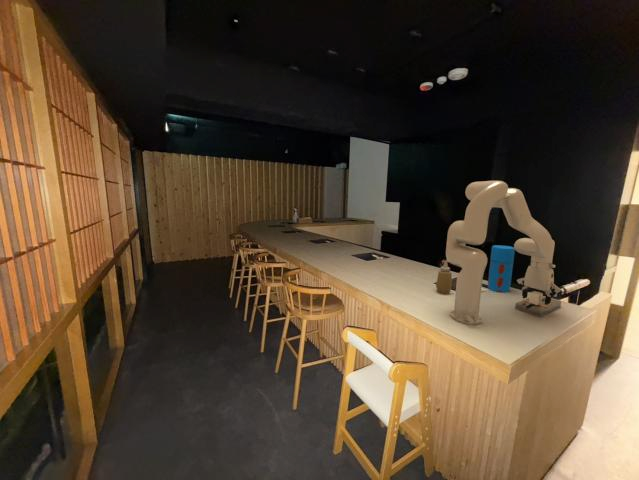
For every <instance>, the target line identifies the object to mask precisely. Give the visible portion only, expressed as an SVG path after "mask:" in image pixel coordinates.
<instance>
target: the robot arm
mask: <svg viewBox="0 0 639 480" xmlns="http://www.w3.org/2000/svg"><path fill="white" fill-rule="evenodd" d="M464 193H465V197H466V198H467V199H468V200H469V201H470V202H469V203H468V205H467V207H466V208H465V209H466V210H465V215H464V219H463V220H456V221H454V222H453V223H452V224H450V226H449V227H448V230H447V237H446V238H447V239H446V247H445V257H446V261H447V262H449V264H450V265H453V266H456V267H459V268H461V270H460V271H459V273H458V275H457V277H456V286H455V299H454V305H453V306H454V309H453V310H451V311H450V312H449V316H450V318H451V319H452V320H454V321H456V322H459V323H461V324H466V325H480V324H482V323H483V317H482V316H481V315H480V306H481V297H482V296H481V295H482V287H483V278H484V273H485V270H486V268H487V264H488V257H487V254H486V253H485V252H484V251H483V250H481V249H479V248H475V247H471V246H468V245H472V246H480V245H482V244H483V243H485V241H486V237H487V233H488V225H489V217H490V213H491V210H492V209H493V208H500V209H502V211H503V215H504V216H505V218H506V221H507V223H508V226H510V227H511V228H513V229H514V230H516V231H519V232H520V233H522V234H525V235H526V236H528V237H523V238H522V237H521V238H519V239H517V240H516V241H515V243H514V244H513V247H514V248H515V251H516V252H517V253H519V254H521V255H526V256H530V257H531V258H530V265H528V267H527V269H526V272H525V275H524V277H521V278H518V279H516V282H517V283H518V286H519V287H520V288H521V290H522V291H521V292H522V293H521V296H522V299H527V298H528V295H529V294H528V292H529V290H528V289H529V288H531V289H534V290H535V289H536V290H538V291H543V292H544V293H545V295H546V296H544V297H545V305H547V304H549V303H551V299H552V297H553V296H556V295H558V293H560V292H561V291H562V288H561V287H558V286H557V285H556V284H555V283H554V282H555V277H554V274H555V273H554V269H555V268H556V264H553V259H554V257H553V256H554V252H555V244H556V243H555V240H553V239H552V235H551V234H550V232H549V231H548V229H546V228H545V227H544V226H543V225H542V224H541V223H540V222H538V220H535V219H534V218H533V217H532V214H531V211H530V210H529V207H528V204H527V202H526V199H525V196H524V194H523V192H522V191H521V189H518V188H515V187H509V185H508V184H507V183H506V182H504V181H503V180H486V181H485V180H484V181H483V180H482V181H474V182H471V183H469V184H468V185H467V186H466V188H465V192H464ZM467 244H468V245H467ZM553 289H554V290H553ZM552 290H553V291H552Z"/></svg>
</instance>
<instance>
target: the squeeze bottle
mask: <svg viewBox="0 0 639 480" xmlns="http://www.w3.org/2000/svg"><path fill="white" fill-rule="evenodd" d="M448 265H449V264H448V260H444V263H443V265H442V266H440V270H439V271H438V273H437V279H436V284H435V286H436V287H435V288H436V291H437V292H438V293H439V294H441V295H442V294H443V295H448V294H450V293H451V290H452V288H453V286H452V284H453V282H452V281H453V280H452V277H453V276H452V272H451V267H449V266H448Z"/></svg>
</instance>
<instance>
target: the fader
mask: <svg viewBox="0 0 639 480" xmlns="http://www.w3.org/2000/svg"><path fill="white" fill-rule="evenodd" d="M529 294H530V295H529V298H530V299H529V303H532V304H533V306H535V305H539V304H541V303H542V296H543V295H544V294H543V293H542V292H540V291H535V290H534V291H531V292H530V293H529Z"/></svg>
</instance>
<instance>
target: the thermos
mask: <svg viewBox="0 0 639 480" xmlns="http://www.w3.org/2000/svg"><path fill="white" fill-rule="evenodd" d="M515 251H516V250H515V248H514V246H509V245H501V244H500V245H492V246H491V253H490V261H489V268H488V269H489V270H488V278H487V290H490V291H492V292H496V293H501V294H502V293H504V294H505V293H510V289H511V286H512V285H511V283H512V275H513V268H514V260H515Z"/></svg>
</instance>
